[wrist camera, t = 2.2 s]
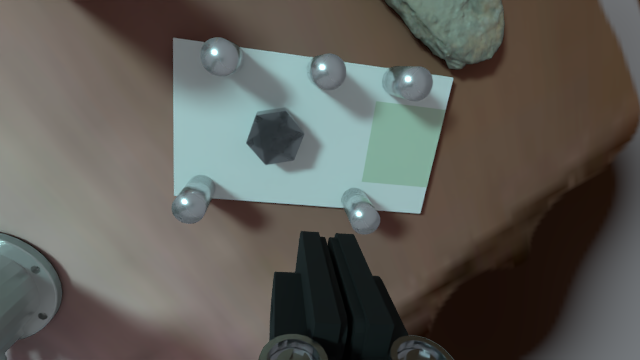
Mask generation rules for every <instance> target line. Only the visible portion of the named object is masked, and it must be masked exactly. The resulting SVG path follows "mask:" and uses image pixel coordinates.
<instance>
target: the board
mask: <svg viewBox="0 0 640 360" xmlns="http://www.w3.org/2000/svg"><path fill="white" fill-rule="evenodd" d="M204 43H205V42H200V41H193V40H186V39H179V38H173V107H174V196H178V195H179V193H180V192H181V191H182V189H183V188H184V187H185V185H186V184H187V183H188V181H189V180H190V179H191V178H192V177H194V176H196V175H205V176H207V177H209V178H211V179H212V180H213V182H214V184H215V187H216V190H215V193H214V195H213V198H215V199H228V200H242V201H256V202H269V203H283V204H296V205H310V206H324V207H337V208H343V206H342V203H341V198H342V195H343V194H344V192H345V191H347V190H348V189H350V188H359V189H361V190H362V191H363V192H364V193H365V194H366V196H367V197H368V199H369V200H370V202H371V203H372V205H373V206H374V208H375V209H376V210H378V211H392V212H405V213H419V214H420V213H421V209H422V205H423V200H424V196H425V192H426V188H427V184H428V180H429V176H430V172H431V168H432V164H433V160H434V156H435V152H436V148H437V144H438V140H439V135H440V131H441V127H442V123H443V119H444V115H445V111H446V106H447V102H448V98H449V94H450V90H451V86H452V82H453V78H452V77H445V76H438V75H432V78H433V86H432V89H431V92H430V93H429V95H428V96H427V97H425V98H424V99H422V100H420V101H411V100H407V99H403V98H400V97H396V96H393V95H390V94H388V93H386V92H385V90H384V89H383V86H382V78H383V75H384V74H385V72H386V71H387V70H388V69H389V68H382V67H375V66H368V65H361V64H354V63H347V62H344V64H345V66H346V77H345V80H344V82H343V83H342V84H341V85H340V86H339V87H338V88H336V89H333V90H325V89H322V88H320V87H318V86H316V85H315V84H313V83H312V82H311V81H310V80H309V78H308V76H307V65H308V63H309V61H310V60H311V59H312V57H305V56H298V55H291V54H284V53H277V52H270V51H263V50H256V49H249V48H242V47H240V48H241V50H242V52H243V54H244V64H243V67H242V68H241V70H240V71H238V72H237V73H234V74H230V75H226V76H216V75H213V74H211V73H210V72H208V71H207V70H206V69H205V67H204V66H203V64H202V62H201V58H200V52H201V48H202V46H203V44H204ZM284 107H285V108H286V109H287V110H288V111H289V113H290V114H291V115H292V116H293V118H294V119H295V120H296V121H297V123H298V124H299V125H300V126H301V128H302V129H303V131H304V137H303V139H302V142H301V144H300V147H299V149H298V152H297V154H296V157H295V159H294V161H288V162H281V163H275V164H269V165H265V164H264V163H263V162H262V161H261V159H260V158H259V157H258V156H257V155H256V154H255V153H254V152H253V150H252V149H251V148H250V147H249V146H248V145H247V144H246V142H247V139H248V136H249V133H250V130H251V127H252V124H253V122H254V119H255V116H256V113H257V111H264V110H270V109H277V108H284Z"/></svg>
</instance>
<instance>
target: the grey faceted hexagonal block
mask: <svg viewBox="0 0 640 360" xmlns="http://www.w3.org/2000/svg"><path fill="white" fill-rule="evenodd" d="M303 137H304V131H303V129H302V128H301V126H300V125H299V124H298V123H297V121H296V120H295V119H294V118H293V116H292V115H291V114H290V113H289V111H288V110H287V109H286V108H285V107H284V108H277V109H270V110H264V111H257V113H256V116H255V119H254V122H253V124H252V127H251V130H250V133H249V136H248V139H247V142H246V144H247V145H248V146H249V147H250V148H251V149H252V150H253V152H254V153H255V154H256V155H257V156H258V157H259V158H260V159H261V161H262V162H263V163H264V164H265V165H269V164H275V163H281V162H288V161H294V159H295V157H296V154H297V152H298V149H299V147H300V144H301V142H302V139H303Z"/></svg>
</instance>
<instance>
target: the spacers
mask: <svg viewBox="0 0 640 360" xmlns="http://www.w3.org/2000/svg"><path fill="white" fill-rule="evenodd" d="M200 58H201V62H202V64H203V66H204V67H205V69H206V70H207V71H208V72H210V73H211V74H213V75H216V76H226V75H230V74H234V73H237V72H238V71H240V70H241V68H242V67H243V64H244V54H243V52H242V50H241V48H240V47H239V46H238V45H236V44H234V43H232V42H230V41H228V40H226V39H224V38H220V37H215V38H211V39H209V40H207V41H206V42H205V43H204V44H203V46H202V48H201V52H200ZM307 76H308V78H309V80H310V81H311V82H312V83H313V84H315V85H316V86H318V87H320V88H322V89H325V90H333V89H336V88H338V87H339V86H340V85H341V84H342V83H343V82H344V80H345V77H346V66H345V64H344V62H343V60H342V59H341V58H340V57H338V56H337V55H334V54H324V55H319V56H315V57H314V58H312V59H311V60H310V61H309V63H308V65H307ZM382 86H383V89H384V90H385V92H386V93H388V94H390V95H393V96H396V97H400V98H403V99H407V100H411V101H420V100H422V99H424V98H425V97H427V96H428V95H429V93H430V92H431V89H432V86H433V78H432V75H431V73H430V72H429V71H428V70H427V69H425V68H423V67H410V66H394V67H391V68H389V69H388V70H387V71H386V72H385V74H384V75H383V78H382ZM215 190H216V187H215V184H214V182H213V180H212V179H211V178H209V177H207V176H205V175H196V176H194V177H192V178H191V179H190V180H189V181H188V183H187V184H186V185H185V187H184V188H183V189H182V191H181V192H180V193H179V195H178V196H177V197H176V199H175V200H174V202H173V204H172V212H173V215H174V216H175V217H176V218H177V219H178V220H179V221H181V222H183V223H188V224H191V223H196V222H198V221H200V220H201V219H202V218H203V216H204V214H205V212H206V210H207V208H208V206H209V204H210V202H211V200H212V198H213V195H214V193H215ZM341 203H342V206H343V208H344V210H345V212H346V214H347V216H348V219H349V221H350V223H351V225H352V227H353V229H354V230H355V231H356V232H357V233H359V234H369V233H372V232H373V231H375V230H376V229H377V228H378V226H379V224H380V216H379V214H378V212H377V211H376V209H375V208H374V206H373V205H372V203H371V202H370V200H369V199H368V197H367V196H366V194H365V193H364V192H363V191H362V190H361V189H359V188H350V189H348V190H347V191H345V192H344V194H343V195H342V198H341Z"/></svg>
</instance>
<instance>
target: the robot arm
mask: <svg viewBox="0 0 640 360" xmlns="http://www.w3.org/2000/svg"><path fill="white" fill-rule="evenodd" d="M61 299H62V288H61V282H60V280H59V277H58V275H57V273H56V271H55V269H54V268H53V266H52V265H51V263H50V262H49V261H48V260H47V259H46V258H45V257H44V256H43V255H42V254H41V253H40V252H38V251H37V250H36V249H34V248H33V247H32V246H30V245H28V244H26V243H25V242H23V241H21V240H19V239H17V238H14V237H11V236H9V235H6V234H2V233H0V360H7V357H6V356H5V353H6V351H7V350H8V349H9V348H10V347H11V346H12V345H13V344H14V343H15V342H16V341H17V340H20V339H24V338H26V337H29V336H31V335H33V334H35V333H37V332H38V331H40V330H41V329H43V328H44V327H45V326H46V325H47V324H48V322H49V321H50V320H51V319H52V318H53V317H54V315H55V314H56V313H57V311H58V309H59V306H60V304H61ZM259 360H453V358H452V357H451V356H450V355H449V354H448V353H447V352H446V351H445V350H444V349H443V348H442V347H441V346H439V345H438V344H436V343H434V342H433V341H431V340H429V339H426V338H423V337H419V336H409V335H408V333H407V331H406V329H405V327H404V325H403V323H402V321H401V319H400V316H399V314H398V312H397V310H396V308H395V306H394V304H393V302H392V300H391V298H390V296H389V294H388V292H387V290H386V288H385V285H384V283H383V281H382V280H381V278H380V277H379V276H372V274H371V272H370V269H369V267H368V265H367V263H366V260H365V258H364V256H363V254H362V251H361V249H360V247H359V245H358V243H357V240H356V238H355V236H354V234H339V233H336V234H335V237H334V238H331V237H330V238H329V240H328V246H327V242H326V239H325V237H320V235H319V232H307V231H301V233H300V239H299V247H298V255H297V263H296V271H295V273H291V272H274V279H273V289H272V299H271V313H270V340H269V342H268V343H267V344H266V345H265V346H264V347H263V349H262V351H261V354H260V356H259Z"/></svg>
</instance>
